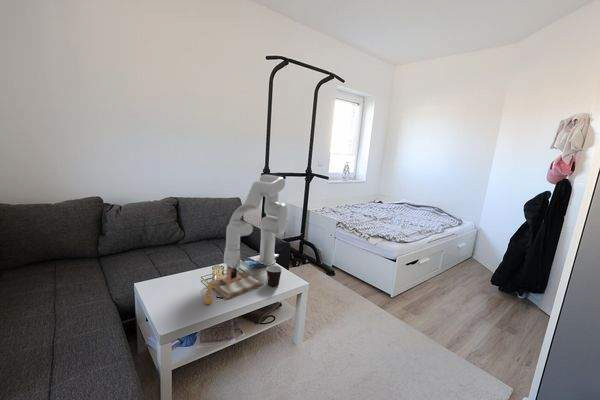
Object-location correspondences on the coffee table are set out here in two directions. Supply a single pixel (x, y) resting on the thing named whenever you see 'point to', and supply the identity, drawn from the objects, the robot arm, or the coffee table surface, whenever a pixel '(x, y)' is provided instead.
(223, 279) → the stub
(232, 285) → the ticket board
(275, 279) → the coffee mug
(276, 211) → the robot arm
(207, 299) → the figurine
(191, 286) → the coffee table surface
